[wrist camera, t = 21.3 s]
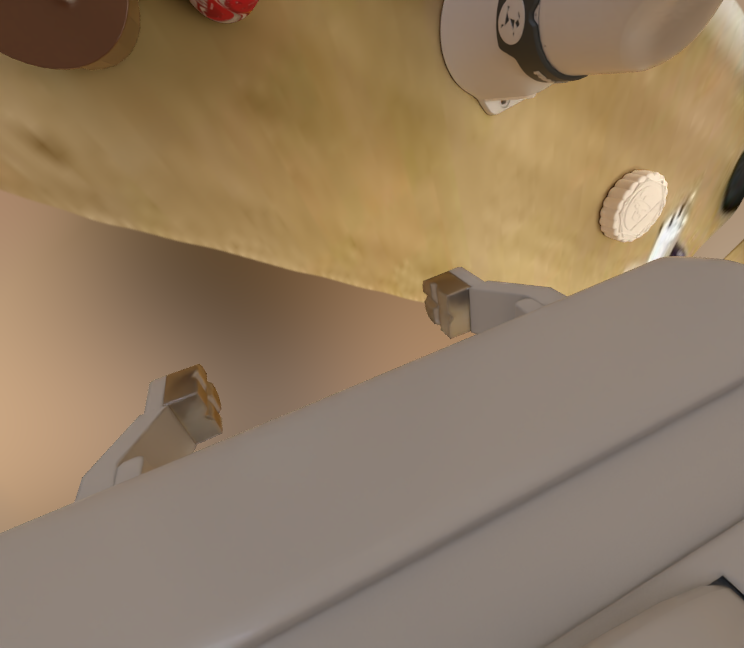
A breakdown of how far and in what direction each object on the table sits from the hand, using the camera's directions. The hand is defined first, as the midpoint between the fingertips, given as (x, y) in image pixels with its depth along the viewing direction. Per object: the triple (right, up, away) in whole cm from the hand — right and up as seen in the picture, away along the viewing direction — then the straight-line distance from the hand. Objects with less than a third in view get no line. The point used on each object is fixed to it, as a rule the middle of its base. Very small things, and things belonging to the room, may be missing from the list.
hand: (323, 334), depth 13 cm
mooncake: (+47, +22, +55) cm, 76 cm away
